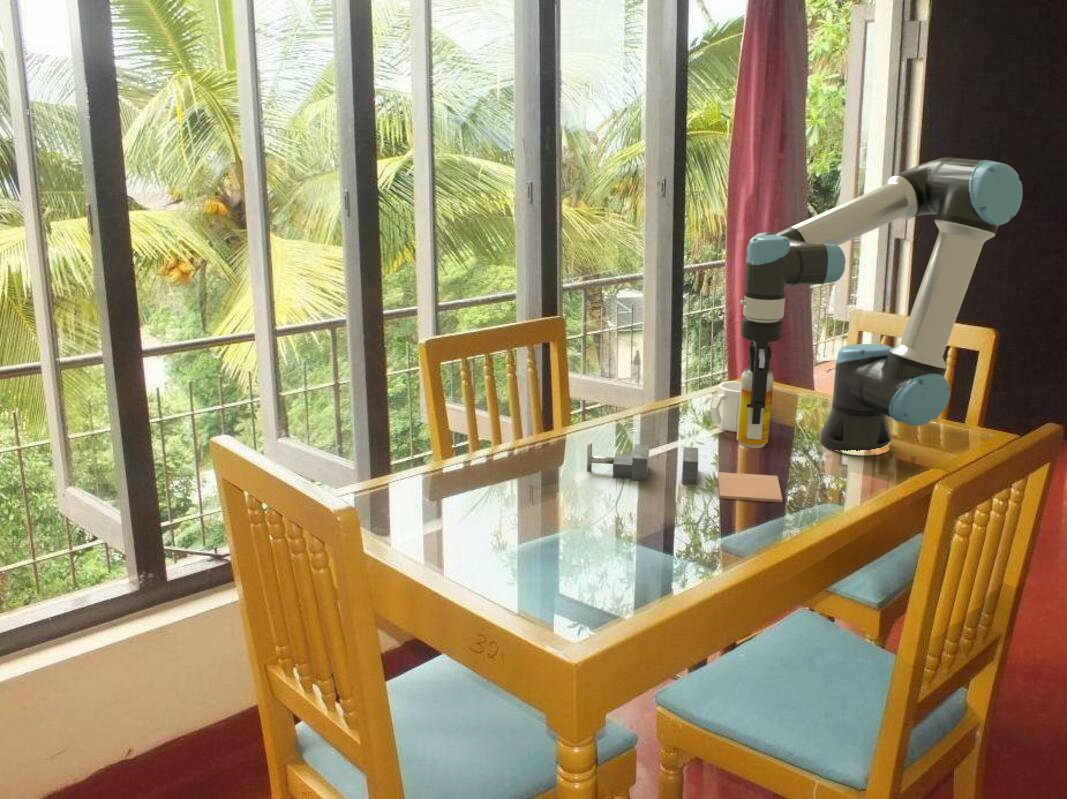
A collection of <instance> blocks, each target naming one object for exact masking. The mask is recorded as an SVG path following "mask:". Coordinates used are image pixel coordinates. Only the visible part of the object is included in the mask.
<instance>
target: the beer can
mask: <svg viewBox="0 0 1067 799" xmlns="http://www.w3.org/2000/svg"><path fill="white" fill-rule="evenodd" d="M752 375H753V374H752V372H751V371H750V368H749V367H746V368H744V370H743V372H742V374H741V377H740V378H741V380H740V382H741V389H740V402H739V414H738V427H737V432H736V440H737V441H738V443H739V445H740V446H742V447H745V448H749V449H750V448H751V449H759V448H763V447H765V446H766V444H767V443H768V442H769V435H770V422H771V412H772V411H771V410H772V400H773V391H774V390H773V388H774V379H775V378H774V374H773V371H772V370H771V369H769V371H768V375H767V387H766V399H765V404H766V406H765V408H764V414H763V425H762V437H761V439H747V429H748V417H749V407H747V404H750V403H751V390H752Z"/></svg>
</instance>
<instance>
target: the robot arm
mask: <svg viewBox="0 0 1067 799" xmlns="http://www.w3.org/2000/svg"><path fill="white" fill-rule="evenodd" d="M1023 191H1024V190H1023V184H1022V181H1021V180H1020V175H1019V174H1018V173H1017V171H1016V170H1015V169H1014V168H1013V167H1012V166H1011V165H1008V164H1006V163H1003V162H997V161H995V160H989V159H970V158H957V157H941V158H937V159H933V160H930V161H927V162H924V163H921V164H918V165H916V166H913V167H912V168H909V169H906V170H904V171H902V172H900V173H898V174H895V175H892V176H891V177H889V178H888V179H887V181H886V183H885V184H883V185H882V186H880V187H877V188H875V189H873V190H871V191H869V192H867V193H864V194H862V195H860V196H857V197H855V198H853V199H851V200H849V201H846V202H845V203H844V202H843V203H842V204H841V203H840V204H839V205H838V206H835V207H833V208H830V209H827V210H826V211H824V212H821V213H819V214H817V215H815V216H812V217H810V218H808V219H806V220H803V221H800V222H799V223H796V224H795V225H791V226H789V227H787V228H785V229H783V230H780V231H778V232H776V233H773V232H760V233H757V234H756V235H754V236H753V237H751V238H750V240H749V243H748V244H747V247H746V248H747V249H746V258H745V262H746V263H745V265H746V267H745V279H744V280H745V281H744V297H743V298H744V299H741V300H740V305H741V306H743V309H742V310H743V311H742V315H743V316H744V317H743V318H742V321H741V332H740V336H741V337H742V338H743V339H745V340H746V341H750V345H749V346H748V355H749V357H748V368H750V371H751V372H752V374H753V375H752V390H751V403H750V404H747V407H749V417H748V429H747V439H761V437H762V425H763V414H764V408H765V406H766V404H765V399H766V387H767V375H768V371H769V370H770V361H771V360H770V359H771V356H772V349H771V346H769V345H768V344H769V343H771V342H773V343H774V342H777V341H780V340H781V339H782V334H783V320H782V319H783V318H784V313H785V304H786V291H787V287H792V286H808V285H811V286H813V285H822V286H823V285H825V284H832V283H835V282H837V281H839V280H840V279H841V278H842V276H844V272H845V271H846V263H847V262H846V255H845V252H844V251H843V249H842V247H840V245H843V244H845V243H847V242H849V241H851V240H854V239H856V238H858V237H861V236H863V235H864V234H867V233H869V232H872V231H874V230H876V229H879V228H881V227H883V226H885V225H887V224H890V223H892V222H894V221H897V220H899V219H900V220H903V221H906V220H907V221H908V220H911V219H913V218H915V217H918V216H922V215H923V216H924V215H936V217H935V219H934V223H935V225H936V227H937V229H938V235H937V237H936V240H935V244H934V245H933V249H932V252H931V255H930V257H929V259H928V260H929V261H928V264H927V266H926V268H925V271H924V275H923V277H922V280H921V284H920V286H919V289H918V292H917V294H916V297H915V300H914V302H913V303H914V304H913V306H912V309H911V312H910V314H909V317H908V320H907V323H906V326H905V329H904V331H903V335H902V336H901V341H900V343H899V344H898V345H897V346H895V347H892V346H889V345H887V344H878V343H877V344H875V343H873V344H872V343H862V344H861V343H859V344H857V343H856V344H849V345H845V346H842V347H841V348H840V349H839V350H838V352H837V358H836V362H835V371H834V380H833V381H834V382H833V383H834V384H833V392H832V393H833V394H832V396H833V397H832V402H831V403H832V404H831V410H830V412H829V413H828V417H827V418H826V421H824V422H825V423H824V424H823V427H822V429H821V432H820V439H819V441H820V444H821V445H822V446H823V447H825V448H826V449H829V450H830V449H832V450H831V451H833V450H838V451H840V450H844V451H845V450H846V451H848V450H849V451H850V450H856V451H858V450H859V451H860V450H871V449H876V448H881V447H883V446H885V445H887V444H888V443H889V442H890V441H891V442H892V435H891V432H890V427H889V422H888V419H887V417H889V418H891V419H893V420H894V421H895V422H898V423H904V424H906V425H908V426H911V427H912V426H913V427H919V426H924V425H927V424H929V423H930V422H931V421H934V420H936V419H937V418H938V417H939V416H940V415H941V414H942V413H943V412H944V410H945V409H946V407H947V406H948V403H949V400H950V397H951V388H950V383H949V382H948V380H947V379H946V378H945V374H946V372H947V370H948V366H947V363H946V361H945V359H944V357H943V356H944V354H945V351H946V348H947V345H948V342H949V339H950V337H951V335H952V331H953V328H954V326H955V323H956V321H957V317H958V314H959V312H960V310H961V308H962V307H961V306H962V304H963V302H964V299H965V295H966V293H967V290H968V288H969V285H970V282H971V279H972V276H973V274H974V270H975V268H976V264H977V263H978V259H979V257H980V254H981V252H982V248H983V246H984V243H986V241H988V240H990V239H992V238H994V237H995V236H996V234H997V231H998V229H999V226H1001V225H1004V224H1006V223H1008V222H1009V221H1010V220H1011V219H1014V217H1015V216H1016V215H1017V214H1018V212H1019V210H1020V207H1021V205H1022V201H1023Z"/></svg>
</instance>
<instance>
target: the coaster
mask: <svg viewBox="0 0 1067 799" xmlns="http://www.w3.org/2000/svg"><path fill="white" fill-rule="evenodd" d="M717 474H718V475H717V478H718V491H719V492H718V493H719V499H727V500H739V501H740V500H743V501H756V502H769V503H783V495H782V490H781V486H780V481H779V477H778V475H772V474H771V475H768V474H753V473H736V472H735V473H734V472H720V471H719V472H718V473H717Z"/></svg>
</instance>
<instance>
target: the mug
mask: <svg viewBox="0 0 1067 799" xmlns="http://www.w3.org/2000/svg"><path fill="white" fill-rule="evenodd" d="M740 389H741V381H735V380H731V381H722V382H720V383H719V384H718V385H717V387H716V396H715V398H714V399H713V401H712V403H711V404H710V405H709V408H710V416H711V422H712V423H713V424H714V426H716V427H717V428H718V429H720V430H721V431H728V432H733V433H737V427H738V414H739V402H740Z"/></svg>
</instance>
